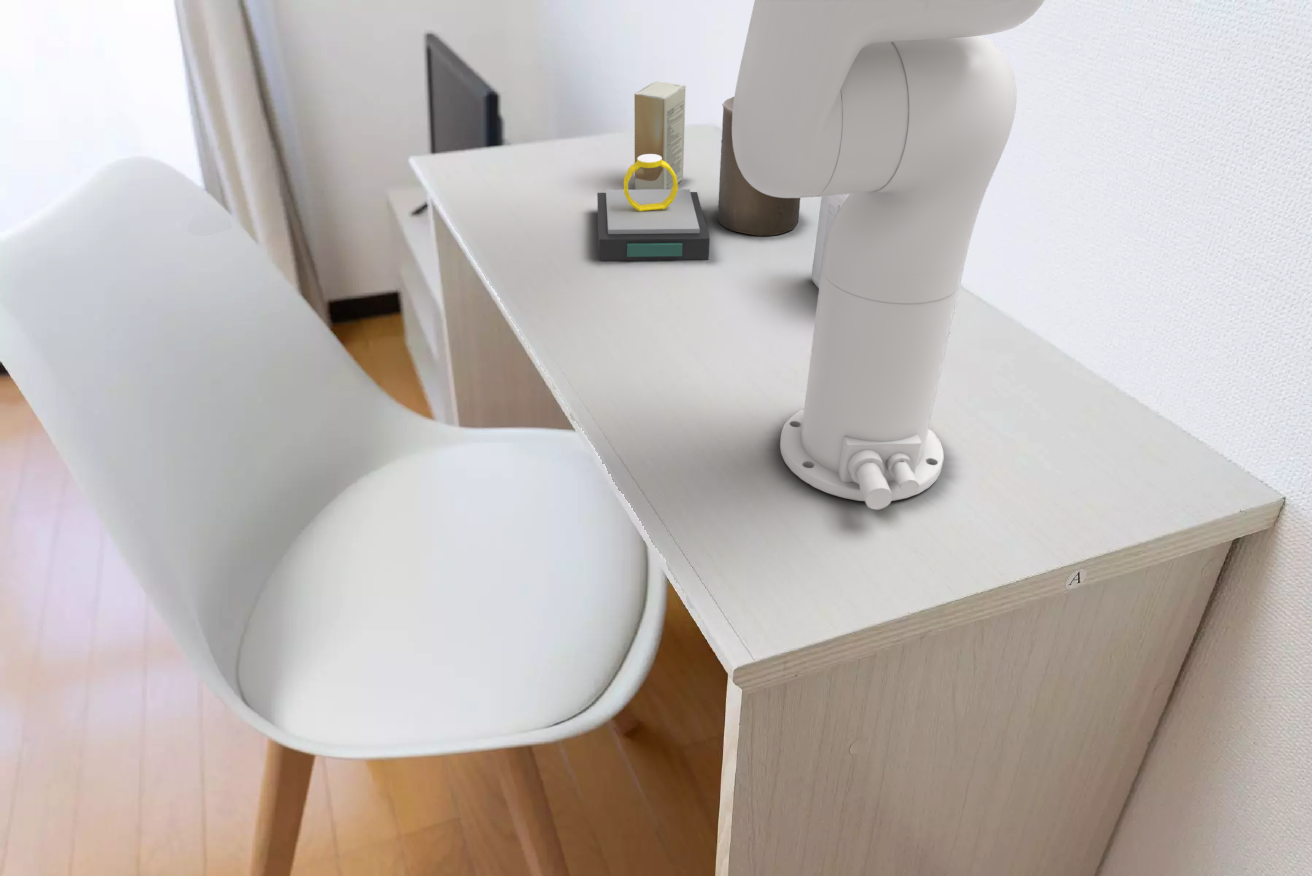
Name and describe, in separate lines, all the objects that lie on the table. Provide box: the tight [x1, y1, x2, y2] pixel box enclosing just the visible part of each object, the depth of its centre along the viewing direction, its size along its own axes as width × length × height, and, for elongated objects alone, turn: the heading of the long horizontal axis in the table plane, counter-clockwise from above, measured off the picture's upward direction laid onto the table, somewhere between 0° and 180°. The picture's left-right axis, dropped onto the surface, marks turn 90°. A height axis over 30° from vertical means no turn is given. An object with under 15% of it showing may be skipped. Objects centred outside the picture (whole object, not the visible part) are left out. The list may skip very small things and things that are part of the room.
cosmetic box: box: [633, 80, 687, 190], centre depth 121 cm, size 6×4×12 cm
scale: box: [596, 188, 711, 262], centre depth 110 cm, size 14×12×3 cm
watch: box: [623, 154, 679, 212], centre depth 108 cm, size 6×3×6 cm, turn 98°
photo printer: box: [811, 194, 849, 289], centre depth 95 cm, size 10×4×12 cm, turn 17°
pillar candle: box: [717, 96, 801, 237], centre depth 111 cm, size 10×10×15 cm
